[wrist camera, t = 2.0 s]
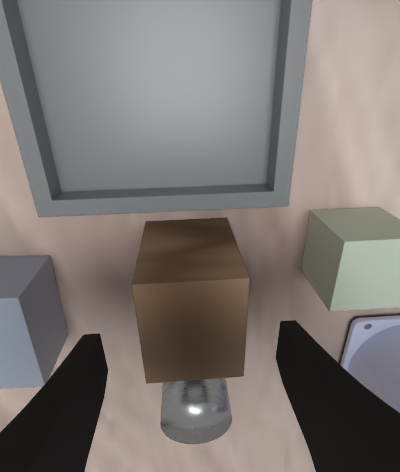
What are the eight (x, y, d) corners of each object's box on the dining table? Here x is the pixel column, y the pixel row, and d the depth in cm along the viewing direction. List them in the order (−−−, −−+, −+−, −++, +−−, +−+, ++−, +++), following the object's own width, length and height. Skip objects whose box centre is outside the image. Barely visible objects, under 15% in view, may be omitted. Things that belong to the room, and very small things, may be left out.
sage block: (377, 206, 17) (429, 237, 14) (362, 265, 19) (405, 306, 16) (309, 209, 17) (344, 241, 14) (300, 268, 19) (329, 311, 15)
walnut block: (226, 217, 17) (249, 278, 12) (224, 296, 19) (243, 376, 14) (146, 221, 17) (131, 284, 11) (154, 300, 19) (146, 383, 14)
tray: (308, -117, 11) (330, -151, 10) (277, 194, 16) (288, 206, 15) (-30, -121, 10) (-67, -158, 9) (52, 204, 16) (38, 217, 14)
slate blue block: (50, 254, 17) (18, 297, 14) (68, 332, 20) (45, 386, 16) (-22, 255, 17) (-75, 300, 13) (5, 334, 20) (-33, 389, 16)
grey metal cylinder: (220, 329, 21) (232, 396, 16) (220, 370, 22) (230, 440, 18) (161, 333, 20) (157, 402, 16) (166, 374, 22) (163, 446, 18)
